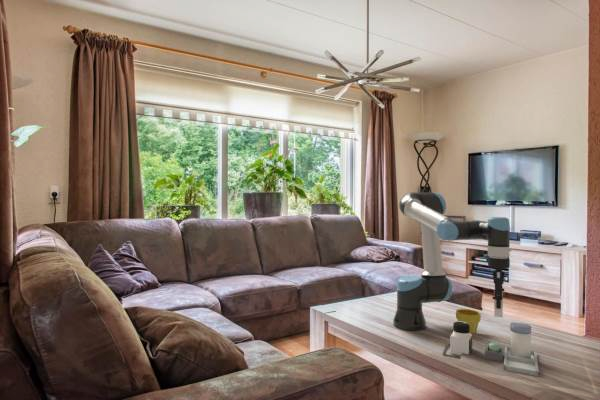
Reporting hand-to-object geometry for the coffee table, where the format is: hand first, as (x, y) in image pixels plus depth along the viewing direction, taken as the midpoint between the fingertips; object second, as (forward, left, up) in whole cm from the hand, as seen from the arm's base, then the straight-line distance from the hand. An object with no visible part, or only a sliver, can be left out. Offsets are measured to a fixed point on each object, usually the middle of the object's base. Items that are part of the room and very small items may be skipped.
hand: (498, 312), depth 152 cm
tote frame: (-13, -1, -18) cm, 22 cm away
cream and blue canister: (+7, +1, -17) cm, 18 cm away
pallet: (+5, -3, -18) cm, 19 cm away
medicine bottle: (-13, -1, -18) cm, 22 cm away
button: (-1, -3, -15) cm, 15 cm away
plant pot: (-13, +24, -18) cm, 33 cm away
